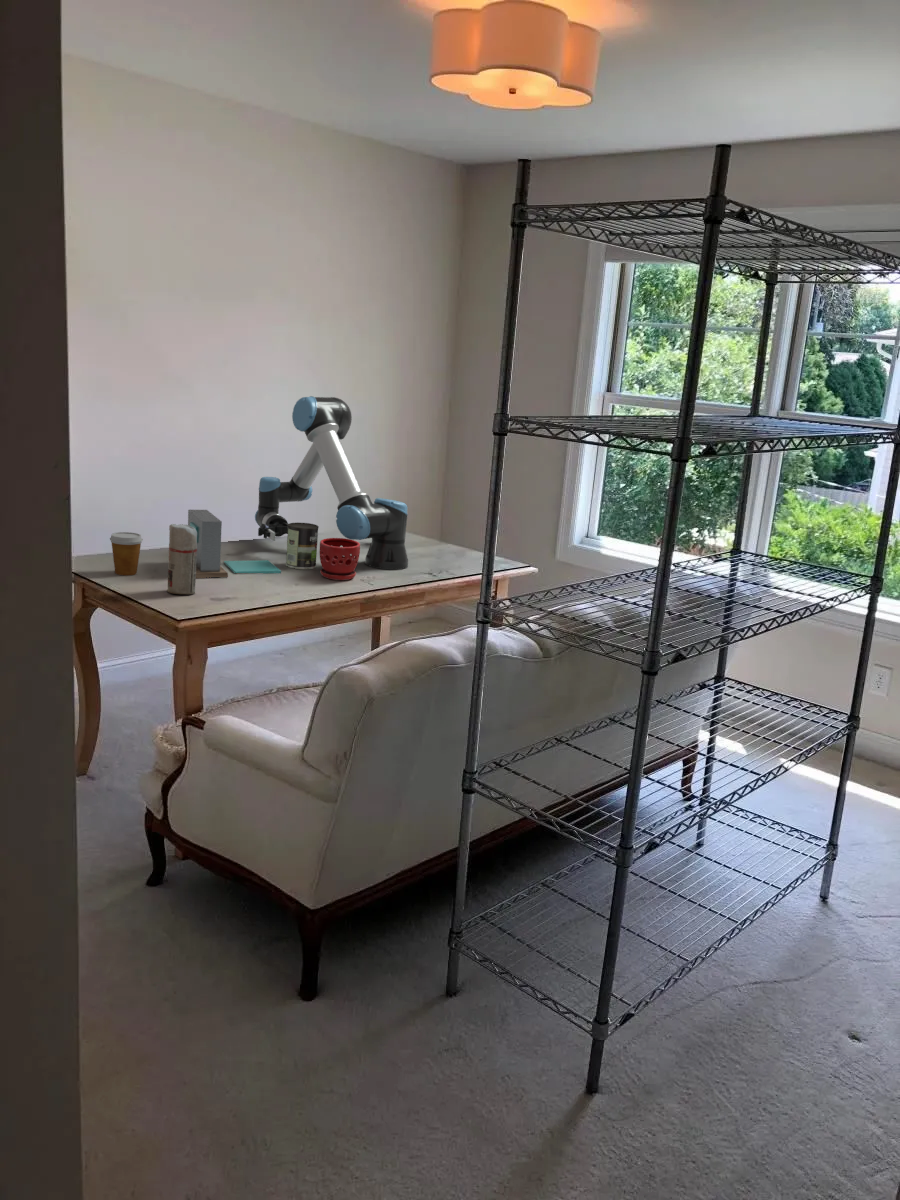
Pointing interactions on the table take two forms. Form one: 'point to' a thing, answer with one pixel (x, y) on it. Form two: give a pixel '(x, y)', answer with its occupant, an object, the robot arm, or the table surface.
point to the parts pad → (252, 566)
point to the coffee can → (302, 545)
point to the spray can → (182, 559)
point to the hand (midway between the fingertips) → (293, 536)
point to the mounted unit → (207, 543)
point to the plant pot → (339, 558)
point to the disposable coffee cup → (126, 552)
